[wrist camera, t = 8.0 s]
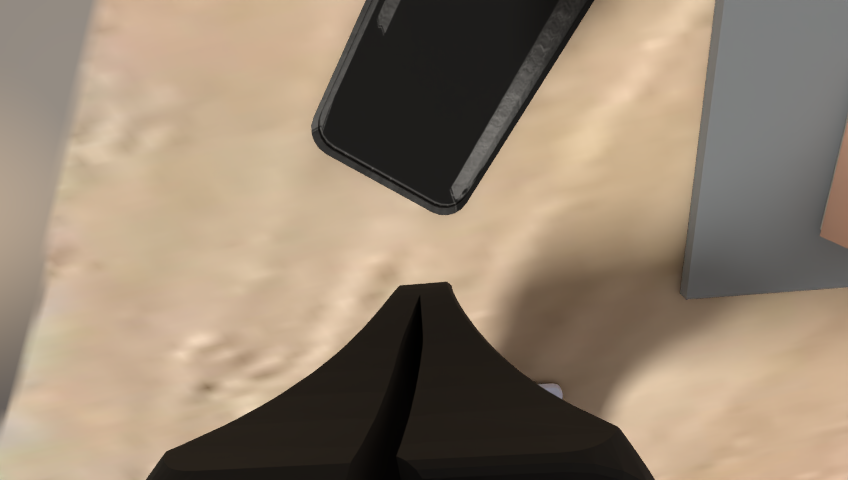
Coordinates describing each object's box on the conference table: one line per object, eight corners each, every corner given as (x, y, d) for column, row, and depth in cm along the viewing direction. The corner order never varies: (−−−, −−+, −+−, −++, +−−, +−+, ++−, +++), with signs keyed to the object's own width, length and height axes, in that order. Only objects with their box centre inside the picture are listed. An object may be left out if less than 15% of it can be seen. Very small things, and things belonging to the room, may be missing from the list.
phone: (671, -123, 15) (453, 224, 20) (657, -111, 16) (452, 216, 21) (481, -267, 14) (300, 140, 19) (478, -244, 15) (307, 136, 20)
